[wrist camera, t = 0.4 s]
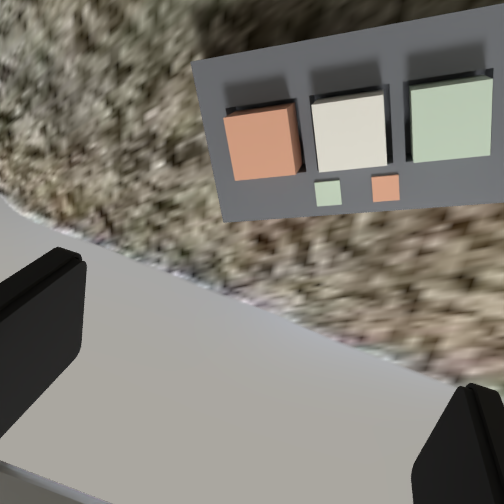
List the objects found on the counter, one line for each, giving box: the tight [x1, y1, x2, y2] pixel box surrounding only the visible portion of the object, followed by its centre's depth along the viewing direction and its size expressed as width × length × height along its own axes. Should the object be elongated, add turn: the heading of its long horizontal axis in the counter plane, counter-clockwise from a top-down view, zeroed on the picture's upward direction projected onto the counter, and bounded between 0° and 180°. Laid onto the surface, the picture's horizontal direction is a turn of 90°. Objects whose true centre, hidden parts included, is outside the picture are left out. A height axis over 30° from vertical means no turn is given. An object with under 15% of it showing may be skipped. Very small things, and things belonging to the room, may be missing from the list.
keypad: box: [191, 3, 504, 223], centre depth 33 cm, size 21×12×4 cm, turn 100°
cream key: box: [311, 89, 387, 172], centre depth 31 cm, size 4×4×3 cm
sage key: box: [409, 75, 493, 163], centre depth 29 cm, size 4×4×3 cm
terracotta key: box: [223, 102, 302, 181], centre depth 33 cm, size 4×4×3 cm
